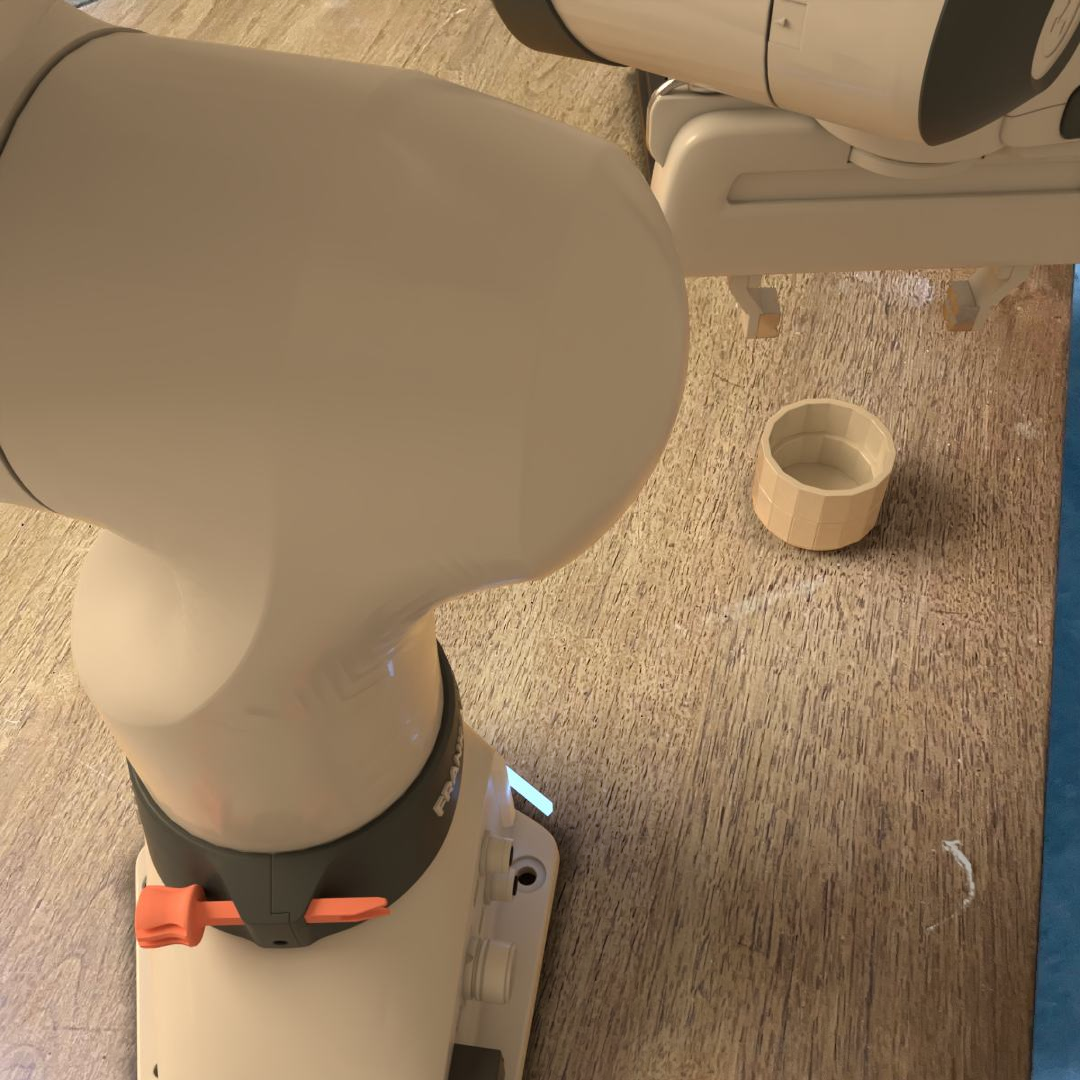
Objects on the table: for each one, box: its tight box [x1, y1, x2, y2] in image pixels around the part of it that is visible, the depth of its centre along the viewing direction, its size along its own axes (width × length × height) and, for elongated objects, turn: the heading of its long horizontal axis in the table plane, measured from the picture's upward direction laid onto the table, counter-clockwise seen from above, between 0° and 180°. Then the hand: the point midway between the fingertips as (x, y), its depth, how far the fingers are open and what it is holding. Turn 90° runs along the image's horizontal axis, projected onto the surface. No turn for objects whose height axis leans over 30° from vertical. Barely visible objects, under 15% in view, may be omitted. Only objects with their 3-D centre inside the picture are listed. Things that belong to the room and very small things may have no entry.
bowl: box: [751, 397, 897, 552], centre depth 64 cm, size 7×7×5 cm
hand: (859, 326), depth 56 cm, fingers open, 8 cm apart
